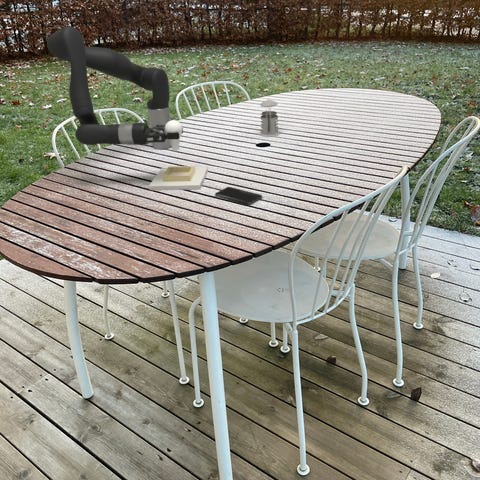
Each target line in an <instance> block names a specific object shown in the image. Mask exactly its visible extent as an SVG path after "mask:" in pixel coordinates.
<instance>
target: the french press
mask: <svg viewBox="0 0 480 480" xmlns="http://www.w3.org/2000/svg"><path fill="white" fill-rule="evenodd" d="M270 81H271V78H270V77H267V78H266V82H267V88H268V95H270V88H269V87H270V85H269V83H270ZM278 103H279V102H277V101H275V100H270V99H267V100H264V101H262V102H260V104H259V105H260V107H261V108H262V107H263V108H269V110H268V109H266V111H262V112H261V113H260V114H261V115H260V128H261V129H260V130H261V131H260V133H259V134H258V135H259V136H260V137H264V138H274V137H279V136H280V135H281V133H280V131H279V123H278V122H279V120H278V119H279V115H278V112H277V111H274V110H271V109H270V108H271V107H272V108H273V107H276V106H278Z"/></svg>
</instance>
